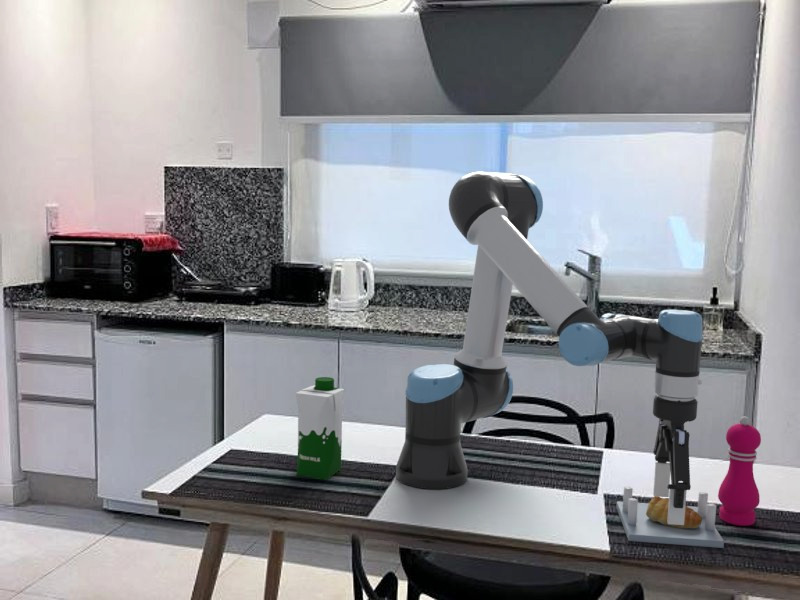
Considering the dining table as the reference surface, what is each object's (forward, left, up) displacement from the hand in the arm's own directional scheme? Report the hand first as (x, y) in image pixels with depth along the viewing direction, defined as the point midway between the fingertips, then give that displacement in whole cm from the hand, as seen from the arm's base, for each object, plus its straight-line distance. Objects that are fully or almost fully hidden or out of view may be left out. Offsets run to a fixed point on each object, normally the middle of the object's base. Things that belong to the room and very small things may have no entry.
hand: (667, 509), depth 150 cm
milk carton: (-69, +16, -3) cm, 71 cm away
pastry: (+1, 0, -2) cm, 2 cm away
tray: (0, 0, -3) cm, 3 cm away
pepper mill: (+14, +6, -3) cm, 16 cm away
